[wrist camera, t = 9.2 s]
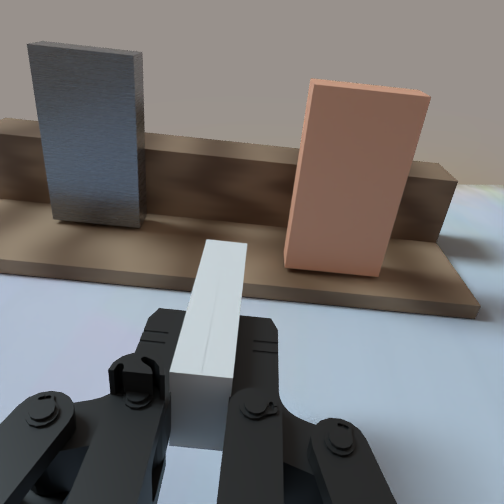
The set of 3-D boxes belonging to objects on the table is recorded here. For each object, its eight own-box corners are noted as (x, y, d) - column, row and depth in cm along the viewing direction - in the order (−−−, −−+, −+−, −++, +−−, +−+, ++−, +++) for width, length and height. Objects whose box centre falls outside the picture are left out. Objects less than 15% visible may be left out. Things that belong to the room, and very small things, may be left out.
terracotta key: (371, 260, 29) (419, 90, 24) (378, 276, 27) (431, 96, 22) (283, 251, 29) (310, 78, 23) (284, 267, 27) (314, 84, 22)
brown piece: (416, 230, 37) (438, 163, 34) (475, 318, 27) (513, 233, 24) (19, 190, 36) (5, 117, 33) (-81, 264, 26) (-113, 169, 23)
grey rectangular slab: (146, 215, 32) (142, 52, 26) (139, 228, 30) (133, 55, 24) (64, 207, 32) (42, 41, 26) (53, 219, 30) (26, 43, 24)
